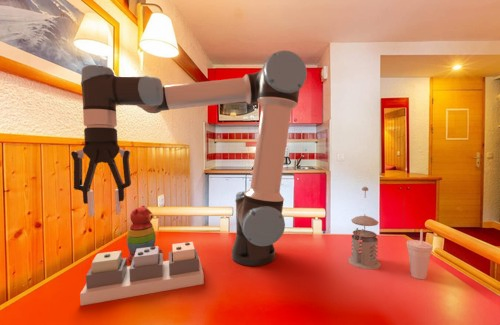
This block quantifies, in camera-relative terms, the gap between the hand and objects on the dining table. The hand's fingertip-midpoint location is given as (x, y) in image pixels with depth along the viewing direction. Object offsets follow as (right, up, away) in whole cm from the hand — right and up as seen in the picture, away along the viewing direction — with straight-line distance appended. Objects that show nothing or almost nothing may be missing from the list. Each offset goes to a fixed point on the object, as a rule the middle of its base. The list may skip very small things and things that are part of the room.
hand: (105, 214), depth 69 cm
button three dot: (+10, -15, +4) cm, 19 cm away
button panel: (+10, -20, +4) cm, 23 cm away
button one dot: (0, -16, +1) cm, 16 cm away
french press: (+76, -19, +14) cm, 80 cm away
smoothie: (+88, -19, +6) cm, 90 cm away
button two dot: (+19, -15, +7) cm, 25 cm away
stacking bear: (+1, -20, +22) cm, 30 cm away
